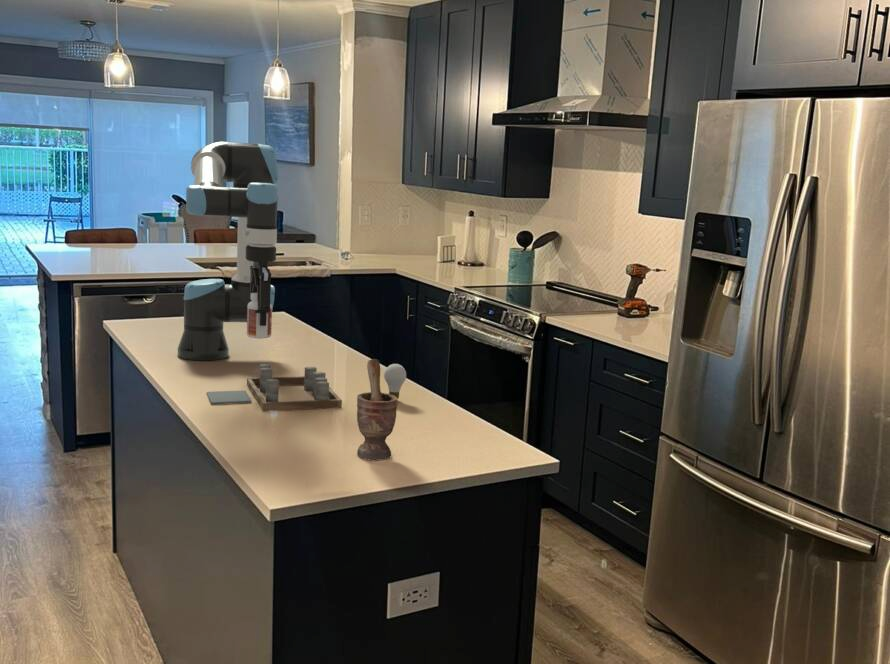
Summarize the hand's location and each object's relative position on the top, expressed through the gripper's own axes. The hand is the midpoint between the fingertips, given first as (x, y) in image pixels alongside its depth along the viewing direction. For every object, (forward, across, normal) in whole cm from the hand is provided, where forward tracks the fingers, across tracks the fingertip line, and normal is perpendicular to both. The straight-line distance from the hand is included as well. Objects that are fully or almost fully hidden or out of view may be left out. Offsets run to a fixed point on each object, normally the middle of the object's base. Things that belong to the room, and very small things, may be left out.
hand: (258, 334), depth 224 cm
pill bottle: (+1, 0, 0) cm, 1 cm away
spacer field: (+17, +1, +9) cm, 19 cm away
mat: (+17, 0, -7) cm, 18 cm away
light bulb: (+17, +10, +34) cm, 39 cm away
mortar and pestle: (+17, +48, +15) cm, 53 cm away
